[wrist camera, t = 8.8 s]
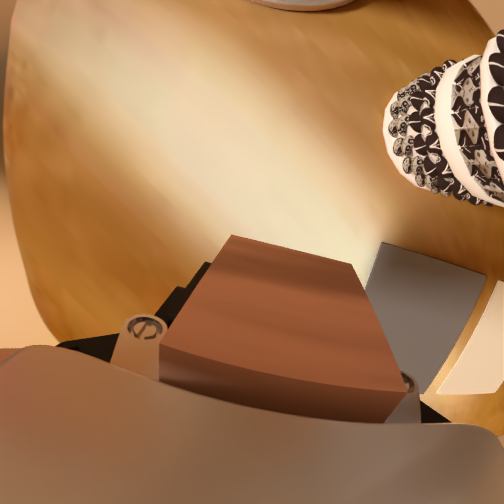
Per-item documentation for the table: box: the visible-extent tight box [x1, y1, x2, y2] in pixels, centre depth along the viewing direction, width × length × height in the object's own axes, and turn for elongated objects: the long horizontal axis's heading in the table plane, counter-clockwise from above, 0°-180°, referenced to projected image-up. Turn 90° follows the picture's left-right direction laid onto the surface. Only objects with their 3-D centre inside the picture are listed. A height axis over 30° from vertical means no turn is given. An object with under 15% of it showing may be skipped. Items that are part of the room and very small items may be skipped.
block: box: [159, 235, 408, 423], centre depth 9 cm, size 5×5×7 cm
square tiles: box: [364, 242, 504, 394], centre depth 21 cm, size 14×26×1 cm, turn 78°
